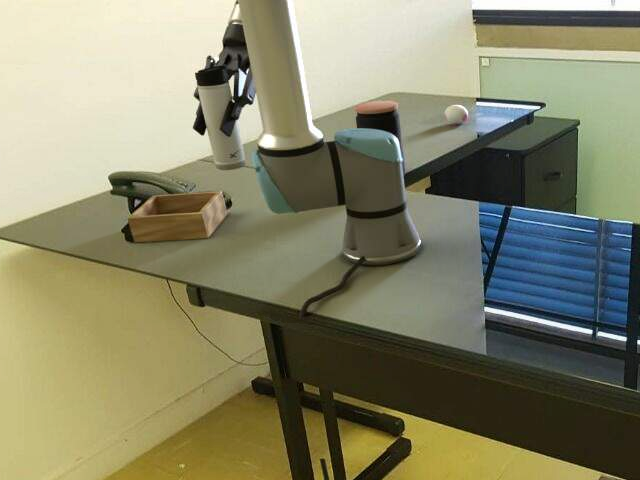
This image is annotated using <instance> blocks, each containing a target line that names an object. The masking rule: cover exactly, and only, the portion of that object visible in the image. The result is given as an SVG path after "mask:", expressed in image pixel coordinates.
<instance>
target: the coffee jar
mask: <svg viewBox="0 0 640 480" xmlns="http://www.w3.org/2000/svg"><path fill="white" fill-rule="evenodd" d="M353 109H354V112H355V113H356V117H355V123H356V128H364V129H376V130H382V131H386V132H389V133H391V134H393V135H394V136H395V137H396V138H397V139H398V142H399V146H400V151H401V157H402V159H403V161H402V168H403V177H405V175H406V172H407V171H406V163H405V154H404V145H403V136H402V128H401V119H400V113H399V112H398V111H397V110H398V109H399V103H398V102H396V101H393V100H375V101H374V100H373V101H367V102H362V103H359V104H357V105H355V106H354V107H353Z"/></svg>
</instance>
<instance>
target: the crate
mask: <svg viewBox="0 0 640 480" xmlns="http://www.w3.org/2000/svg"><path fill="white" fill-rule="evenodd" d="M224 197H225V196H224V193H223V191H222V190H215V191H200V192H186V193H185V192H184V193H172V194H157V195H152V196H151V197H150V198H149V199H147V200H146V201H145V202H144V203H142V205H140V206H139V207H138V208H137V209H136V210H135V211H133V213H131V214H130V215H129V216H128V217H127V218H126V219H127V221H128V225H129V229H130V231H131V235H132V238H133V242H134V243H151V242H167V241H181V240H183V241H185V240H195V239H196V240H197V239H209V237H210V236H211V235H212V234H213V233H214V231H215V230H216V229H217V228H218V226H219V225H220V224H221V222H223V220H224V219H225V218H226V217H227V215H228V211H227V206H226V202H225V198H224Z"/></svg>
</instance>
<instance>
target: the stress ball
mask: <svg viewBox="0 0 640 480" xmlns="http://www.w3.org/2000/svg"><path fill="white" fill-rule="evenodd" d="M444 118H445V119H446V120H447V122H448V123H451V124H453V125H452V126H453V127H456V125H460V124H463V123H466V121H467V120H468V118H469V111H468V109H467V108H466V107H464V105H460V104H451V105H449V106H448V107H447V108H446V109H445V111H444Z"/></svg>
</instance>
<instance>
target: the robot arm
mask: <svg viewBox="0 0 640 480" xmlns="http://www.w3.org/2000/svg"><path fill="white" fill-rule="evenodd" d="M295 15H296V14H295V9H294V2H293V0H235V3H234V6H233V8H232V11H231V13H230V15H229V18H228V21H227V26H226V28H225V30H224V34H223V37H222V43H221V44H222V50H221V51H220V53H219V54H218V56H214V57H213V56H212V55H207V56H206V60H205V66H204V68H203V69H206V68H210V67H215V66H221V65H223V64H227V66H228V68H227V69H226V71H227V76H228V77H227V78H228V81H229V82H230V80H231V79H232V77H233V93H232V97H231V98H232V99H233V101H229V103H228V105H227V108H226V111H225V114H224V117H223V120H222V123H221V126H220V130H221V131H222V132H223V133H224V134H225V135H226V136H227V137H231V134H232V131H233V128H234V125H235V122H236V120H237V121H238V120H239V119H240V117H241V114H242V110H243V108H245V107H246V106H247V105H248V106H252V105H253V104H254V101H255V98H256V99H257V103H258V104H257V105H258V111H259V114H260V120H261V125H262V132H261V133H260V134H259V136H258V137H257V139H256V145H257V149H255V150H253V151H251V153H250V157H251V160H252V164H253V167H254V170H255V173H256V177H257V181H258V183H259V186H260V189H261V192H262V195H263V197H264V201H265V203H266V205H267V207H268V209H269V211H272V213H274V214H277V215H282V214H292V213H293V214H298V213H301V212H307V211H308V212H309V211H314V210H315V211H316V210H323V209H327V208H328V209H329V208H336V207H340V206H345V212H346V220H345V221H346V222H345V227H344V233H343V239H342V248H341V249H342V256H343V258H344V259H345V261H348V262H349V263H352V264H353V265H352V266H351V267H350V268H349V269H348V270H347V271H346V273H345V274H344V275H343V276H342V279H341V281H340V283H339V284H337V285H336V286H334V287H331V288H328V289H326V290H323V291H322V292H320V293H318V294H317V295H314V296H312V297H311V296H310V297H309V298H308V299H306V300H305V302H304V303H303V305H302V306H301V308H300V311H299V316H298V317H299V318H304V317H305V316H306V314H307V311H308V309H309V307H310V306H311V305H312V304H314V303H317V302H319V301H321V300H323V299H325V298H326V297H329V296H330V295H334V294H335V293H338V292H339V291H341V290H343V289H344V288H345V287H346V285H347V283H348V280H349V279H350V277H351V276H352V275H353V274H354V273H355V272H356V271H357V269H358V268H359V267H360V266H385V265H392V264H396V263H400V262H404V261H406V260H409V259H411V258H413V257H414V256H416V255H417V254H419V252H420V251H421V247H422V246H421V239H420V236H419V233H418V232H417V229H416V226H415V224H414V223H413V220H412V218H411V216H410V214H409V211H408V206H407V204H408V203H407V196H406V188H405V187H406V186H405V178H404V177H405V176H404V177H403V168H402V161H403V159H402V157H401V151H400V146H399V142H398V139H397V138H396V137H395V136H394V135H393V134H391V133H389V132H386V131H382V130H376V129H364V128H357V127H356V128H355V127H353V128H345V129H340V130H337V131H336V132H335V133H334V136H333V139H334V140H331V141H324V135H323V132H322V131H321V130H319V128H317V127H315V126H314V124H313V121H312V113H311V107H310V101H309V96H308V90H307V84H306V78H305V77H306V75H305V71H304V70H305V69H304V64H303V58H302V51H301V46H300V39H299V34H298V26H297V21H296V20H297V19H296V16H295ZM198 89H199V88H198V87H197V86H196V88H195V89H194V93H193V97H194V98H195V99H196V100H197V101H198V102H199V103H198V106H197V108H196V112H195V116H196V117H195V120H194V123H193V125H192V129H193V130H194V131H195V132H197V134H199V135H200V136H202V137H203V136H205V134H206V131H207V127H206V122H205V118H204V114H203V109H202V105H201V100H200V96H199V92H198ZM319 462H320V463H319V464H320V467H321V472H322V476H323V480H330V476H329V471H328V467H327V462H326V458H325V457H323V458H319Z"/></svg>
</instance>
